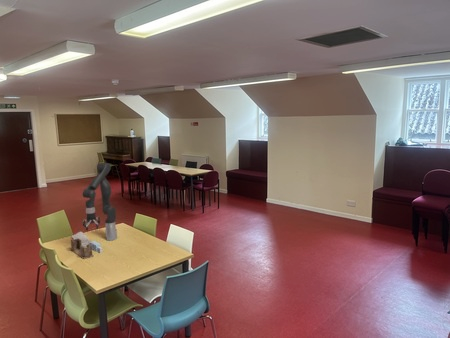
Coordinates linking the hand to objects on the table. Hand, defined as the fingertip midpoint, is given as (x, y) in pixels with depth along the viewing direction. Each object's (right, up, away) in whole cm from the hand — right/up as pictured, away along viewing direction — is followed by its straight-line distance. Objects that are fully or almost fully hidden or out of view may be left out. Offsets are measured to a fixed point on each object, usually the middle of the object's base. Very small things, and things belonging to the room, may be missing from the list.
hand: (92, 229), depth 286 cm
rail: (+2, -18, +3) cm, 19 cm away
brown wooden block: (-7, -20, -5) cm, 21 cm away
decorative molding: (-20, -16, +24) cm, 35 cm away
